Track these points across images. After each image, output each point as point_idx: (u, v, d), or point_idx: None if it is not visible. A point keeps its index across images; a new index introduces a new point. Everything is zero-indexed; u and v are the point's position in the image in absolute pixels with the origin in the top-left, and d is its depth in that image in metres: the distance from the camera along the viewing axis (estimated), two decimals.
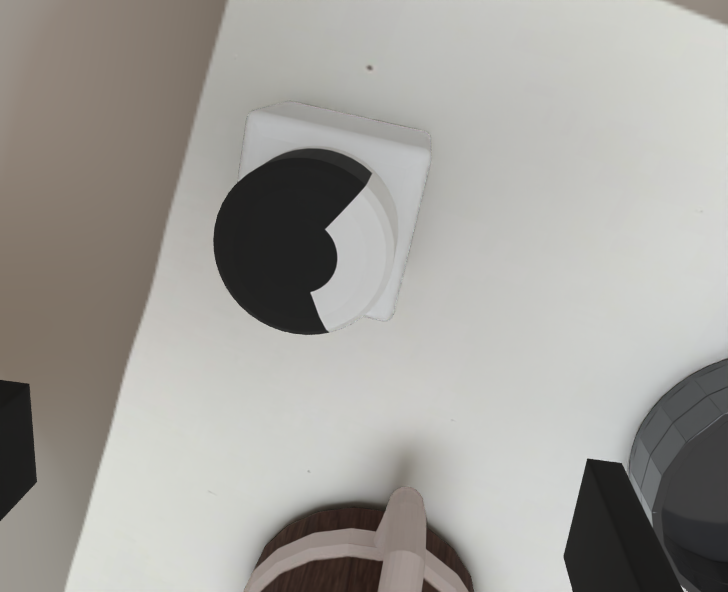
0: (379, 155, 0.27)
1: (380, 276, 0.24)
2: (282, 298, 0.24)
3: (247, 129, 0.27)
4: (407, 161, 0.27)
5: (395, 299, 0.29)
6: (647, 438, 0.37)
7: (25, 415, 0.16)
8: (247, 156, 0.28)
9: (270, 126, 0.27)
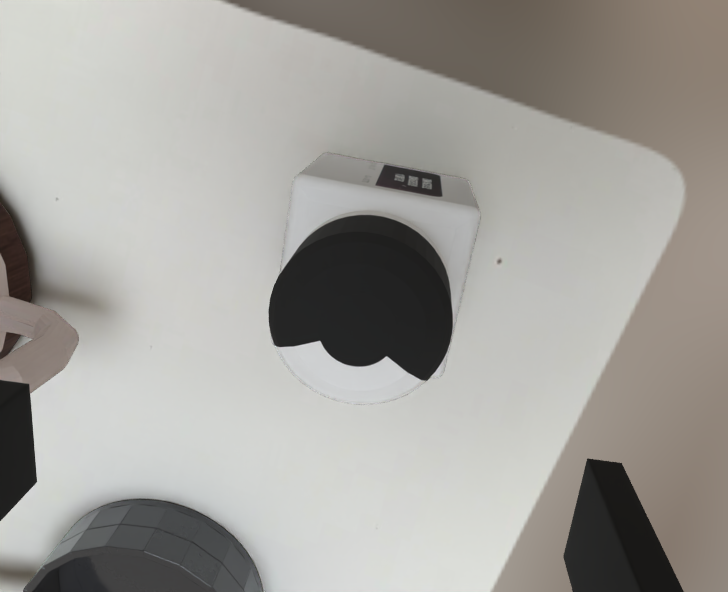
0: None
1: (339, 397, 0.24)
2: (310, 312, 0.23)
3: (462, 210, 0.27)
4: None
5: None
6: (169, 518, 0.41)
7: (25, 414, 0.16)
8: (435, 210, 0.27)
9: (465, 235, 0.27)
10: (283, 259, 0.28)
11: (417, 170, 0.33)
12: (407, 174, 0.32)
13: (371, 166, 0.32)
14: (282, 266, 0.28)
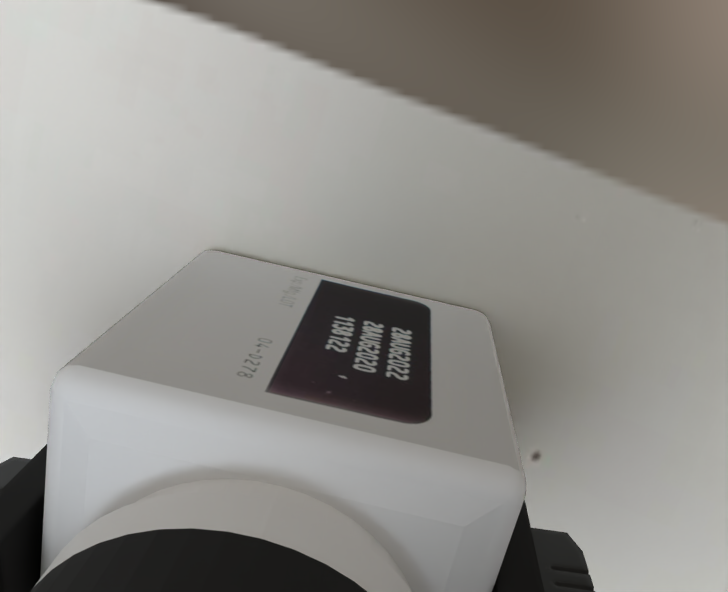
0: None
1: None
2: None
3: (481, 481, 0.10)
4: None
5: None
6: None
7: None
8: (411, 477, 0.10)
9: (487, 539, 0.10)
10: (43, 552, 0.12)
11: (386, 293, 0.17)
12: (362, 314, 0.15)
13: (289, 292, 0.16)
14: (42, 566, 0.12)
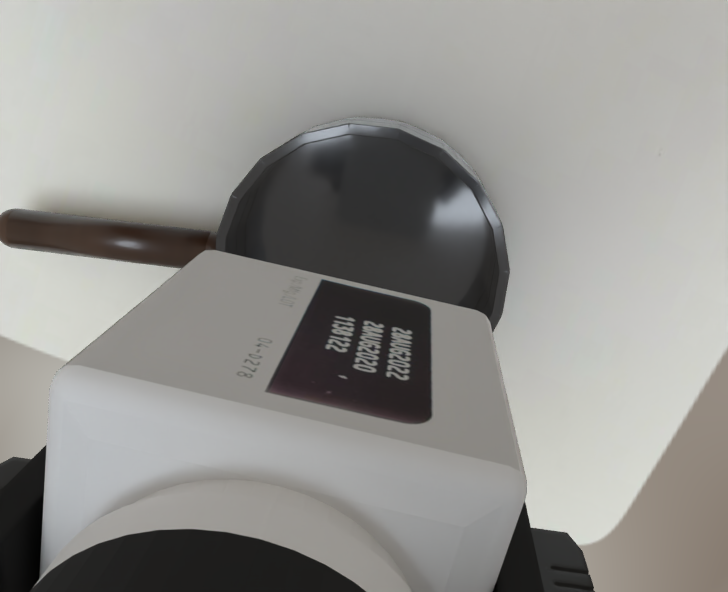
0: None
1: None
2: None
3: (482, 481, 0.10)
4: None
5: None
6: (408, 125, 0.32)
7: None
8: (411, 478, 0.10)
9: (487, 540, 0.10)
10: (42, 553, 0.12)
11: (386, 293, 0.17)
12: (362, 314, 0.15)
13: (289, 292, 0.15)
14: (41, 566, 0.12)
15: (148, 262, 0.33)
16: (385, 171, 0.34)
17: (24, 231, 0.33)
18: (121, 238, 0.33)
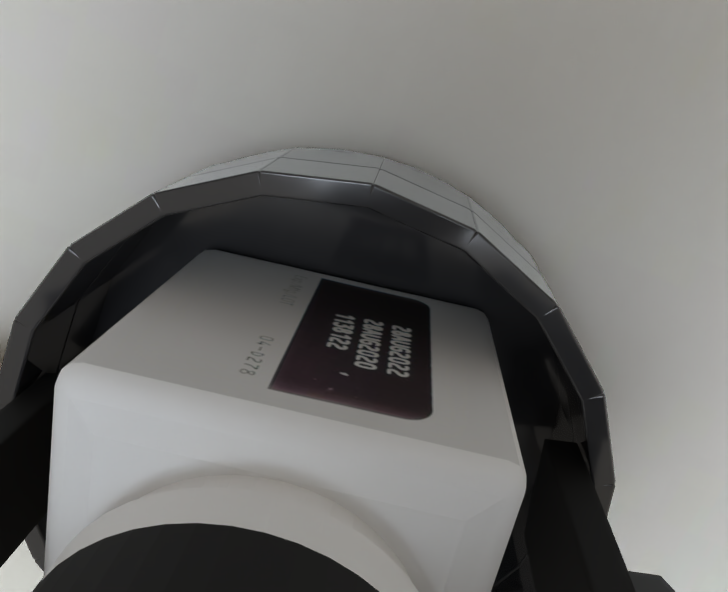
0: None
1: None
2: None
3: (482, 476, 0.10)
4: None
5: None
6: (397, 168, 0.16)
7: None
8: (412, 472, 0.10)
9: (488, 533, 0.11)
10: (47, 549, 0.12)
11: (385, 291, 0.17)
12: (362, 313, 0.15)
13: (290, 290, 0.16)
14: (46, 563, 0.12)
15: None
16: (353, 253, 0.17)
17: None
18: None
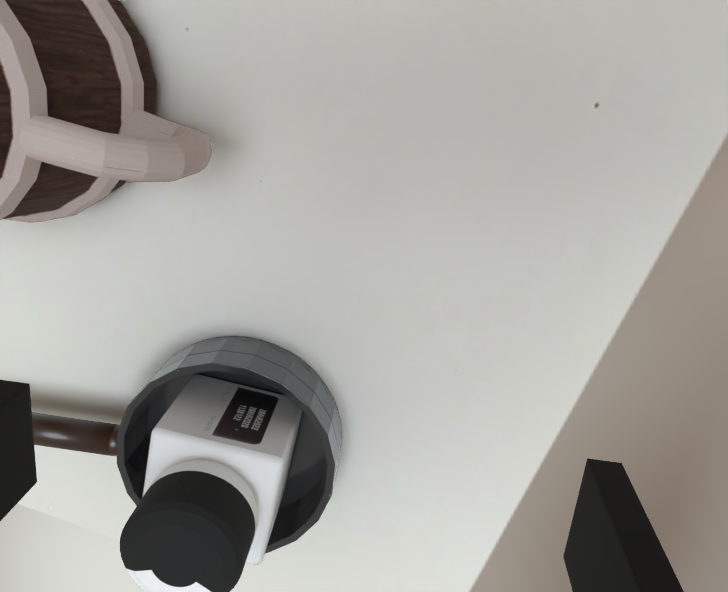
0: (255, 540, 0.40)
1: None
2: (144, 552, 0.34)
3: (269, 460, 0.38)
4: (252, 556, 0.40)
5: None
6: (264, 350, 0.43)
7: (25, 415, 0.16)
8: (250, 459, 0.38)
9: (272, 476, 0.38)
10: (145, 481, 0.39)
11: (263, 392, 0.44)
12: (250, 403, 0.43)
13: (224, 394, 0.43)
14: (144, 486, 0.39)
15: None
16: (251, 376, 0.45)
17: None
18: (45, 432, 0.43)
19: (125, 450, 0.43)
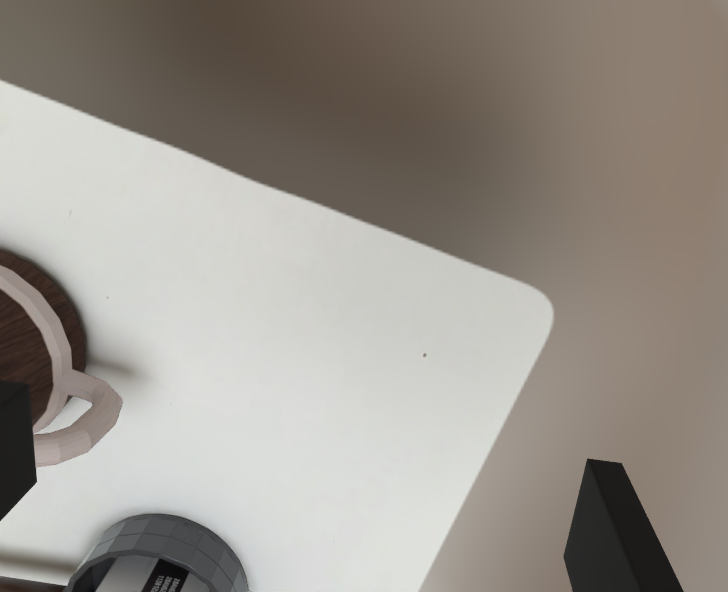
0: None
1: None
2: None
3: None
4: None
5: None
6: (179, 529, 0.54)
7: (24, 415, 0.16)
8: None
9: None
10: None
11: None
12: (167, 573, 0.54)
13: (148, 565, 0.54)
14: None
15: None
16: None
17: None
18: None
19: None
